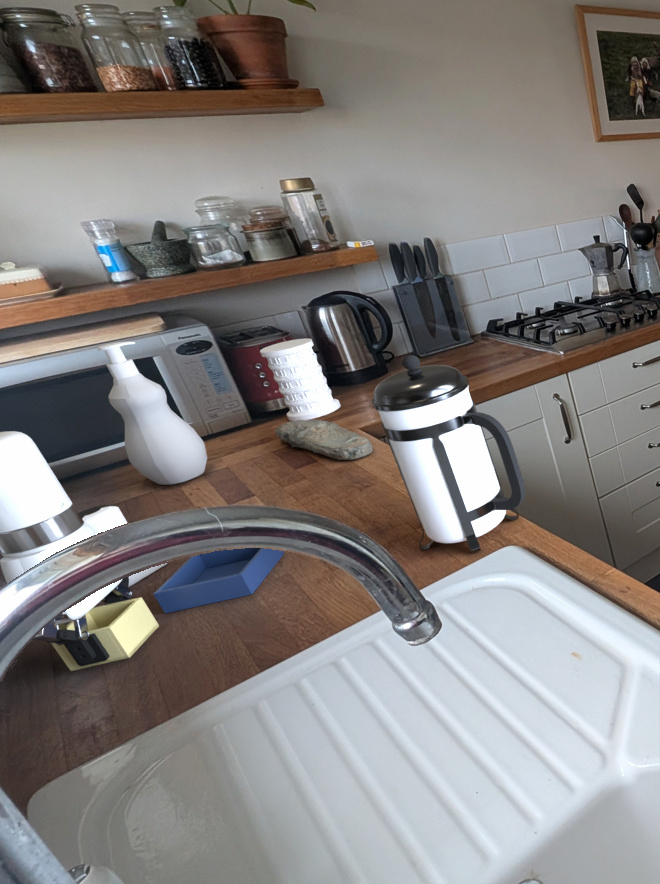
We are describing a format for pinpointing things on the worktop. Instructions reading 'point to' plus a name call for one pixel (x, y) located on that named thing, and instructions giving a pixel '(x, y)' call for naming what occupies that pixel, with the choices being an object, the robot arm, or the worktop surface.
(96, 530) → the medicine bottle
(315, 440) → the elongated rock
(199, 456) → the soap bottle
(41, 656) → the worktop surface
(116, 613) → the cream bin
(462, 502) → the coffee press
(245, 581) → the blue bin
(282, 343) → the decorative container
